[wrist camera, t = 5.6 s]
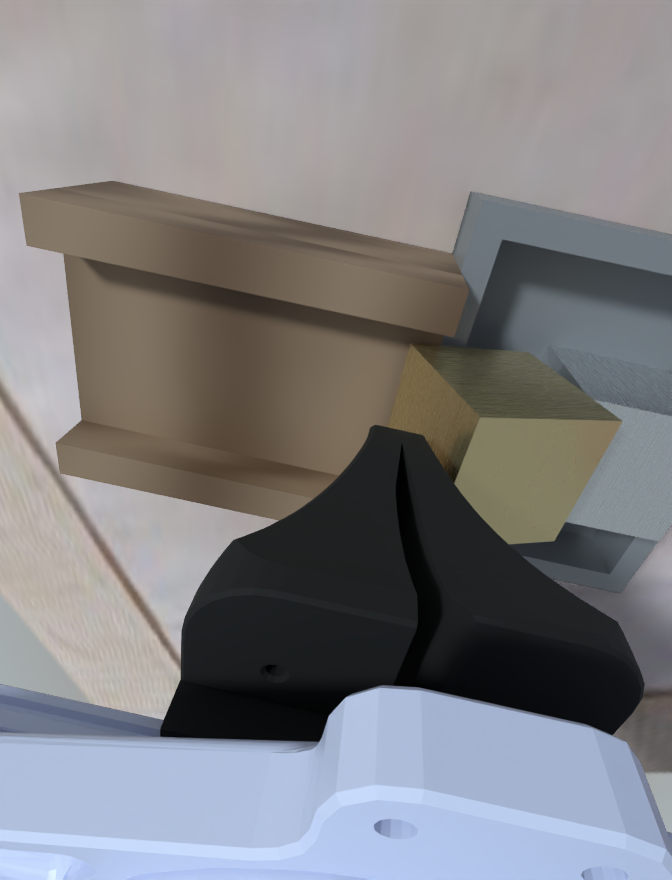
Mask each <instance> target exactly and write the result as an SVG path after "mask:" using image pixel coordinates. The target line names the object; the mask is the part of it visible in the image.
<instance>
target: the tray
mask: <svg viewBox="0 0 672 880" xmlns="http://www.w3.org/2000/svg"><path fill="white" fill-rule="evenodd" d="M452 254H453V256H454V258H455V261H456V263H457V265H458V267H459V269H460V271H461V273H462V275H463V277H464V280H465V282H466V284H467V286H468V288H469V293H468V296H467V299H466V302H465V305H464V308H463V311H462V314H461V318H460V321H459V324H458V327H457V330H456V333H455V336H454V337H450V336H446V335H444V337H443V340H442V343H441V346H454V347H468V348H481V349H494V350H507V351H520V352H529V353H531V354H532V355H533V356H535V357H536V358H538V359H539V360H540V361H542V360H543V358H544V356H545V353H546V351H547V349H548V346H549V345H552V346H557V347H561V348H566V349H571V350H576V351H580V352H585V353H590V354H594V355H599V356H604V357H608V358H613V359H618V360H622V361H627V362H632V363H636V364H641V365H646V366H650V367H655V368H660V369H665V370H668V371H669V372H670V373H672V235H671V234H667V233H662V232H657V231H653V230H648V229H643V228H639V227H634V226H629V225H625V224H620V223H615V222H611V221H606V220H602V219H597V218H592V217H588V216H583V215H578V214H574V213H569V212H564V211H560V210H555V209H550V208H546V207H541V206H536V205H532V204H527V203H522V202H518V201H513V200H508V199H504V198H499V197H494V196H490V195H485V194H480V193H476V192H470V195H469V199H468V202H467V206H466V209H465V212H464V216H463V219H462V223H461V226H460V229H459V233H458V236H457V240H456V243H455V246H454V250H453V253H452ZM657 542H658V541H653V540H649V539H644V538H639V537H634V536H630V535H625V534H620V533H616V532H611V531H606V530H601V529H597V528H592V527H587V526H583V525H578V524H573V523H569V522H565V523H564V525H563V527H562V528H561V530H560V532H559V534H558V535H557V537H556V539H555V541H549V542H535V543H521V544H509V545H510V546H511V547H512V548H513V549H514V550H516V551H517V552H518V553H519V554H520V555H521V556H523V557H524V558H525V559H526V560H527V561H528V562H530V563H531V564H532V565H533V566H535V567H536V568H537V569H539V570H540V571H541V572H542V573H544V574H545V575H546V576H548V577H549V578H551V579H556V580H560V581H565V582H570V583H574V584H579V585H584V586H588V587H593V588H597V589H602V590H607V591H611V592H616V593H621V592H622V590H623V589H624V588H625V586H626V585H627V583H628V582H629V581H630V579H631V578H632V576H633V575H634V574H635V572H636V571H637V570H638V568H639V567H640V565H641V564H642V563H643V561H644V560H645V559H646V557H647V556H648V554H649V553H650V552H651V550H652V549H653V547H654V546H655V545H656V543H657Z"/></svg>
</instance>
